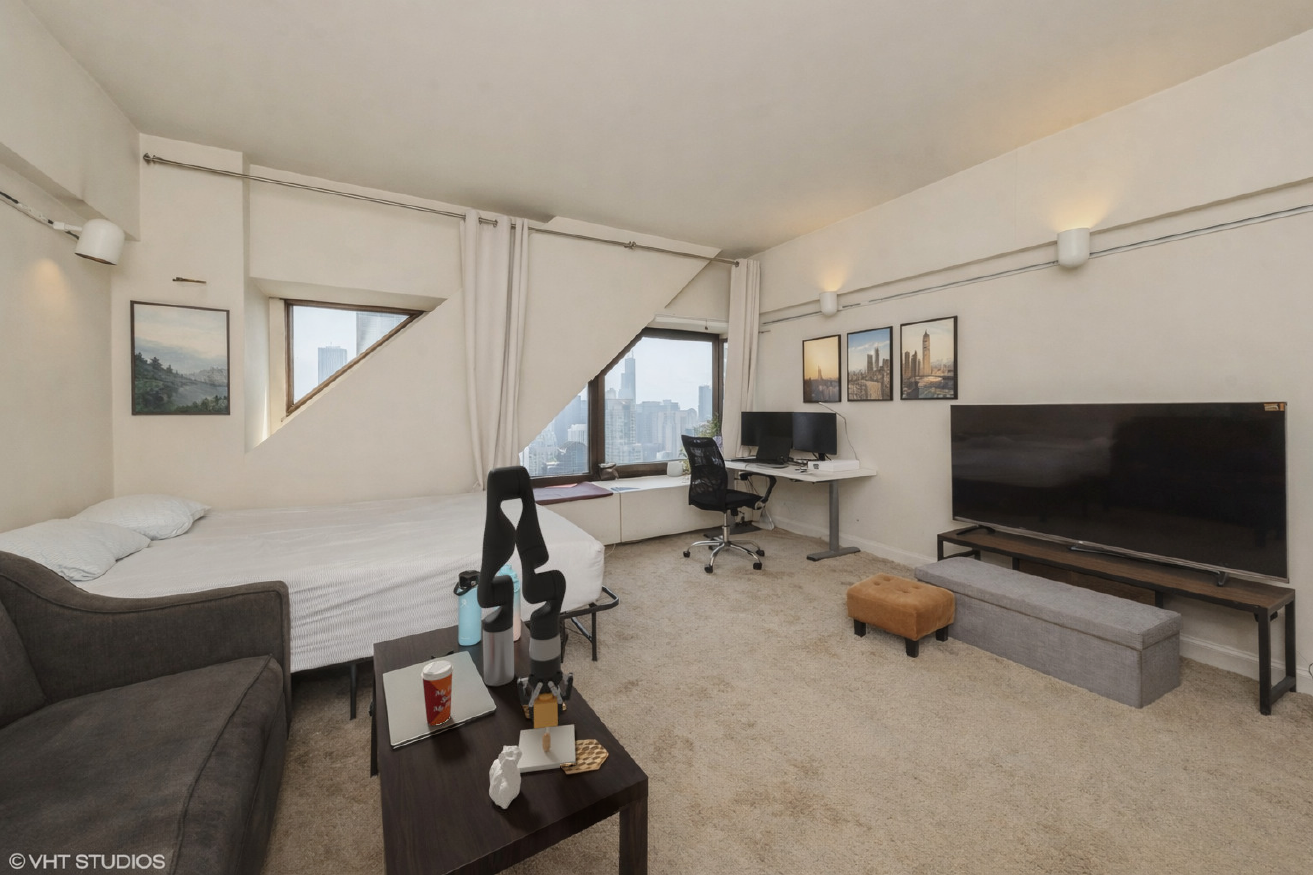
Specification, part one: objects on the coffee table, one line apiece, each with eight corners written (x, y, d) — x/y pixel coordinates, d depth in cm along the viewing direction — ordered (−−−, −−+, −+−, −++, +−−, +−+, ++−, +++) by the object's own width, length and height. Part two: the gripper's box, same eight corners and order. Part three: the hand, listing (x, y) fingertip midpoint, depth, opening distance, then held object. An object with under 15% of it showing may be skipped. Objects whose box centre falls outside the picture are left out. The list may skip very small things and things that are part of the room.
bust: (515, 820, 108) (545, 768, 111) (487, 813, 104) (518, 759, 108) (498, 785, 118) (525, 738, 121) (471, 778, 114) (501, 729, 117)
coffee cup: (442, 730, 134) (441, 676, 133) (415, 726, 136) (414, 673, 135) (461, 711, 142) (459, 660, 141) (435, 707, 144) (433, 657, 143)
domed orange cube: (535, 714, 126) (534, 687, 126) (557, 711, 127) (557, 684, 127) (534, 728, 121) (533, 699, 120) (557, 725, 122) (557, 697, 121)
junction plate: (521, 733, 133) (520, 712, 133) (574, 726, 136) (573, 707, 135) (516, 773, 119) (515, 750, 118) (575, 765, 121) (575, 743, 121)
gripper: (574, 641, 128) (574, 705, 129) (516, 646, 125) (517, 711, 127) (575, 656, 121) (575, 723, 122) (513, 662, 118) (514, 730, 119)
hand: (546, 716), depth 124 cm, fingers closed on domed orange cube, 5 cm apart
